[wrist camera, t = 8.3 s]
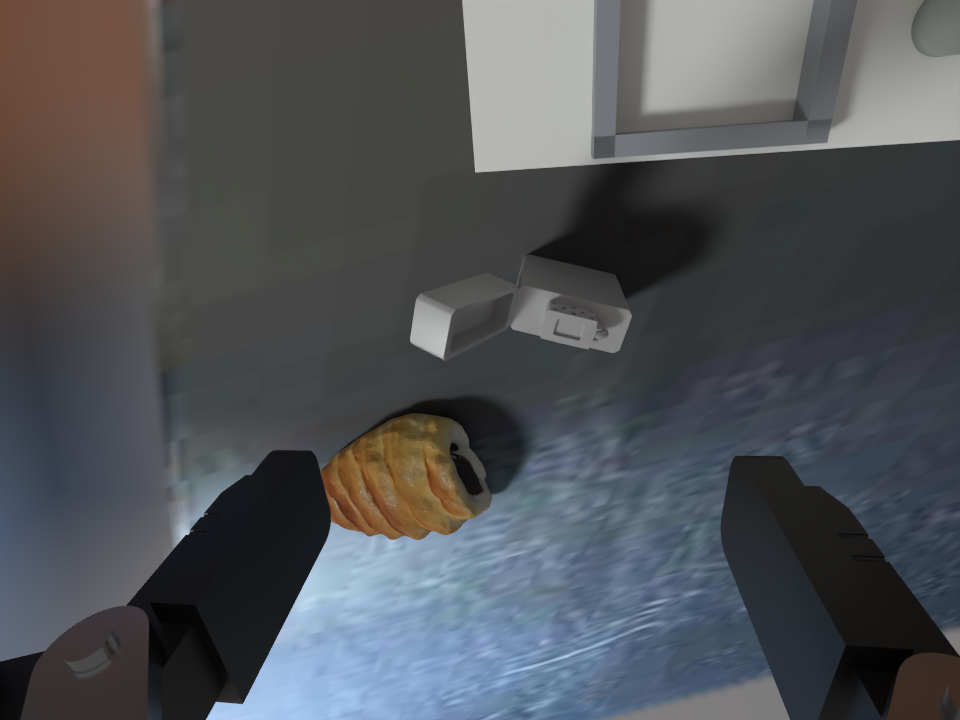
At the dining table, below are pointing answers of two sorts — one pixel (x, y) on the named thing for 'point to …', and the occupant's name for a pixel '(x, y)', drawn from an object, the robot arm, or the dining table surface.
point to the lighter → (524, 309)
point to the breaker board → (705, 78)
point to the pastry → (407, 479)
